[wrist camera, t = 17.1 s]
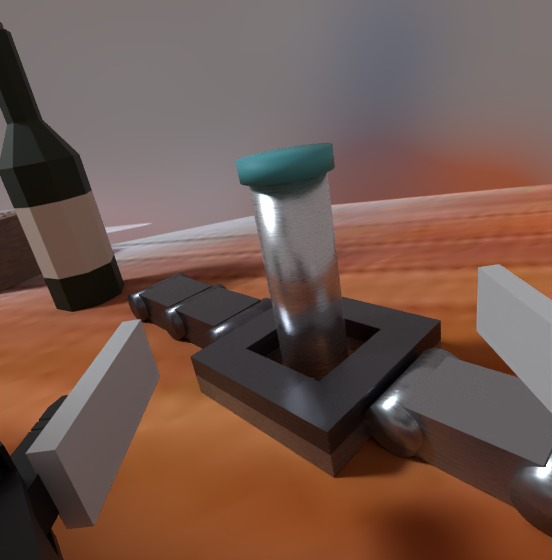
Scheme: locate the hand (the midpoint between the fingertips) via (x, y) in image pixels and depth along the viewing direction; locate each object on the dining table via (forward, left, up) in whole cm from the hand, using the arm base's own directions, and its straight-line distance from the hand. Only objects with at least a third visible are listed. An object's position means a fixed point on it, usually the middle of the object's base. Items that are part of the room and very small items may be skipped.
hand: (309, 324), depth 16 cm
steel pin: (+7, +7, -9) cm, 13 cm away
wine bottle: (+4, +42, -10) cm, 43 cm away
